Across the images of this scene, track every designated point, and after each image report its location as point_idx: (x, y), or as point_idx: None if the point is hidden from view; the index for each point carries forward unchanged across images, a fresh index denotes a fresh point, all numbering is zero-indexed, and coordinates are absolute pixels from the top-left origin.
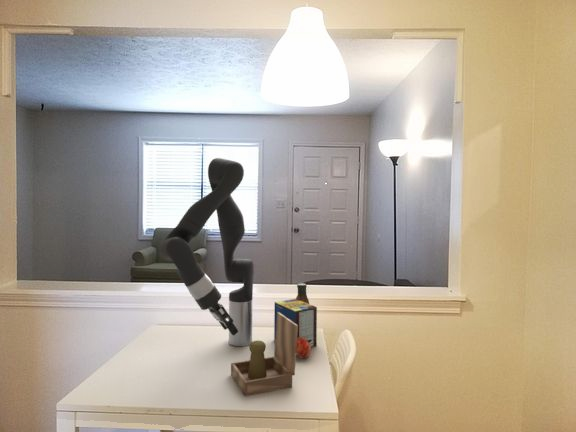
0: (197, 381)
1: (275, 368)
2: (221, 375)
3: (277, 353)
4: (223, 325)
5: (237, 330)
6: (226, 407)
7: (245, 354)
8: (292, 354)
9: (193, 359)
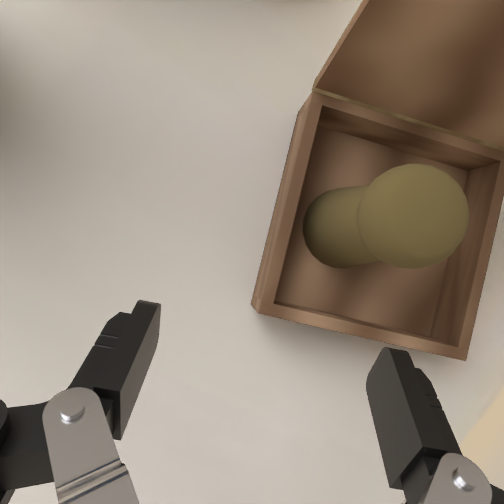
0: (220, 447)
1: (341, 129)
2: (228, 338)
3: (364, 86)
4: (144, 372)
5: (408, 360)
6: (458, 435)
7: (79, 123)
8: None
9: None
